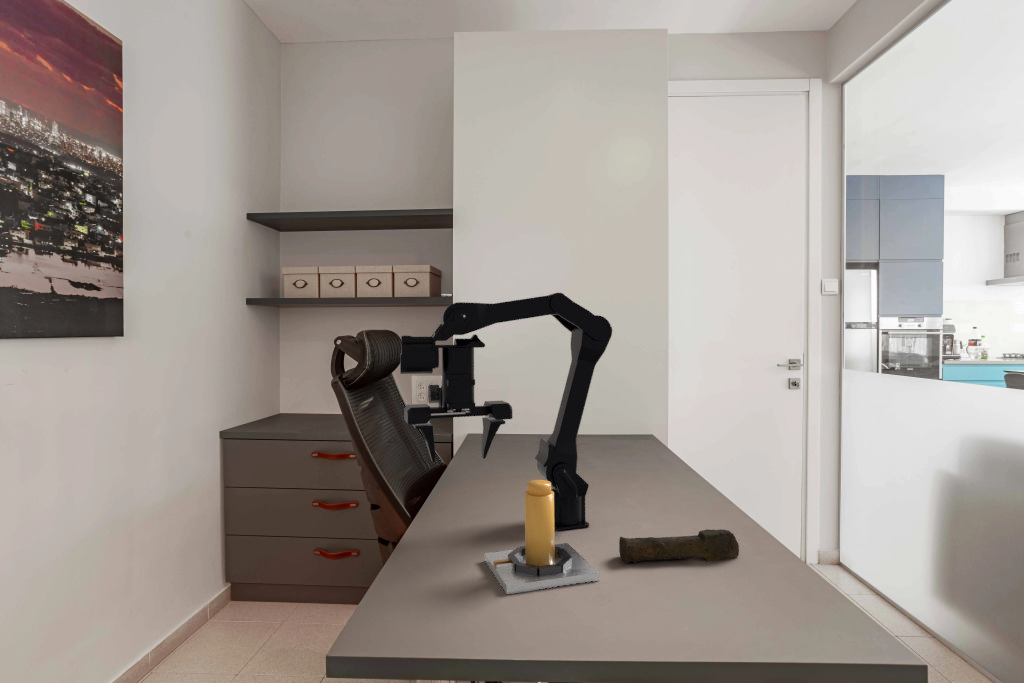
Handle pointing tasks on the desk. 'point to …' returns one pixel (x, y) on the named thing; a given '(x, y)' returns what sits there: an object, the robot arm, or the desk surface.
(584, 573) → the plate
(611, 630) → the desk surface
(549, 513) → the domed yellow peg
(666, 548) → the hand tool
